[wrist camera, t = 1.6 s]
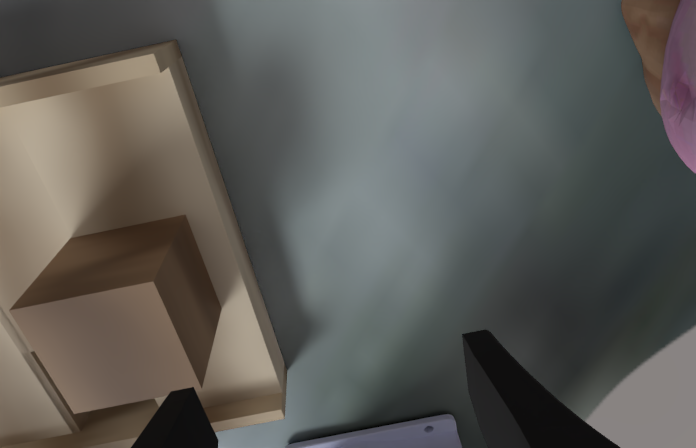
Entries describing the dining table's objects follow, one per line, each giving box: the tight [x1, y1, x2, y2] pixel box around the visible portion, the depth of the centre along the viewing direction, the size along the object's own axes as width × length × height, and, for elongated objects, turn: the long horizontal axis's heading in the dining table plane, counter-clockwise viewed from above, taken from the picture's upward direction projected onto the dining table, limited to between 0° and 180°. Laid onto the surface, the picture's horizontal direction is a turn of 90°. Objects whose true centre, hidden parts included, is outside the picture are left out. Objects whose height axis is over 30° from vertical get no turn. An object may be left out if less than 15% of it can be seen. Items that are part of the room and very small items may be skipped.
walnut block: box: [9, 214, 222, 414], centre depth 18 cm, size 4×4×4 cm
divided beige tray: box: [0, 40, 287, 448], centre depth 21 cm, size 20×16×4 cm
